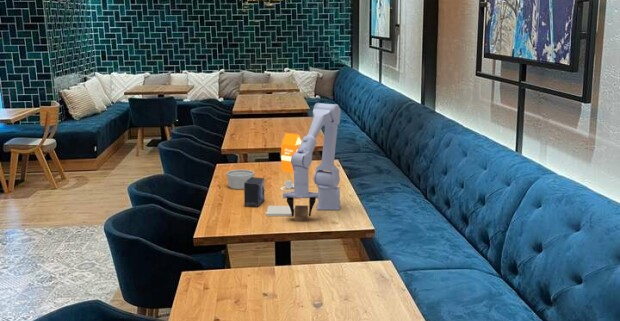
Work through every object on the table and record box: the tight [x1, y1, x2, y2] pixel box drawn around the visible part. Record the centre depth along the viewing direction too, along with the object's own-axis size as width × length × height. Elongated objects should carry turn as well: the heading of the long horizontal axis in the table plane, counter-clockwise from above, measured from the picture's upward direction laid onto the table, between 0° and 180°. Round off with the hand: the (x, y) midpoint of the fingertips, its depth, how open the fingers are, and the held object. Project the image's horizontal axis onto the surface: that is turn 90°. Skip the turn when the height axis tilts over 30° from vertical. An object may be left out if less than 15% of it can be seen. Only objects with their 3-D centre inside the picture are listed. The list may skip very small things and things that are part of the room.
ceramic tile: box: [265, 205, 293, 217], centre depth 244 cm, size 11×11×1 cm
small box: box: [243, 176, 265, 208], centre depth 255 cm, size 11×6×10 cm, turn 168°
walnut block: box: [294, 204, 309, 222], centre depth 235 cm, size 5×5×5 cm
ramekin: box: [226, 169, 255, 190], centre depth 283 cm, size 13×13×7 cm
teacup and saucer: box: [279, 179, 294, 192], centre depth 280 cm, size 9×8×4 cm
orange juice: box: [280, 132, 302, 174], centre depth 313 cm, size 8×9×20 cm
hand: (301, 215), depth 235 cm, fingers open, 6 cm apart
